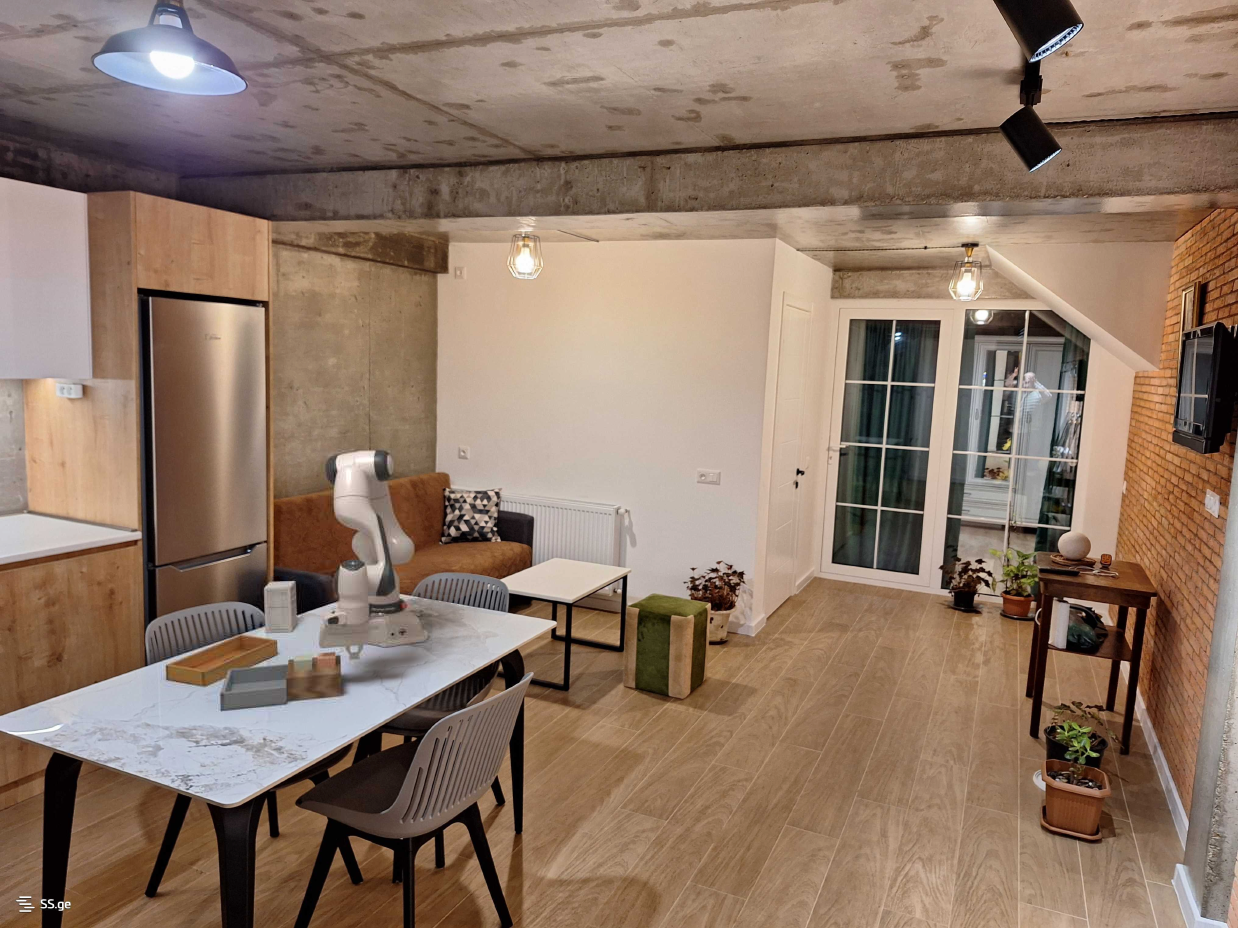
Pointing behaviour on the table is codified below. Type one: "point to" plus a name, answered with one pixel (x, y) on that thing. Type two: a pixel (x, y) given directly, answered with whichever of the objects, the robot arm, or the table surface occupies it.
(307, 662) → the sage tile
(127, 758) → the table surface
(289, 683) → the walnut ledge
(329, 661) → the terracotta tile
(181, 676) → the tray
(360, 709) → the table surface
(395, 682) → the table surface
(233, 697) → the bin
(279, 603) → the white tall block
